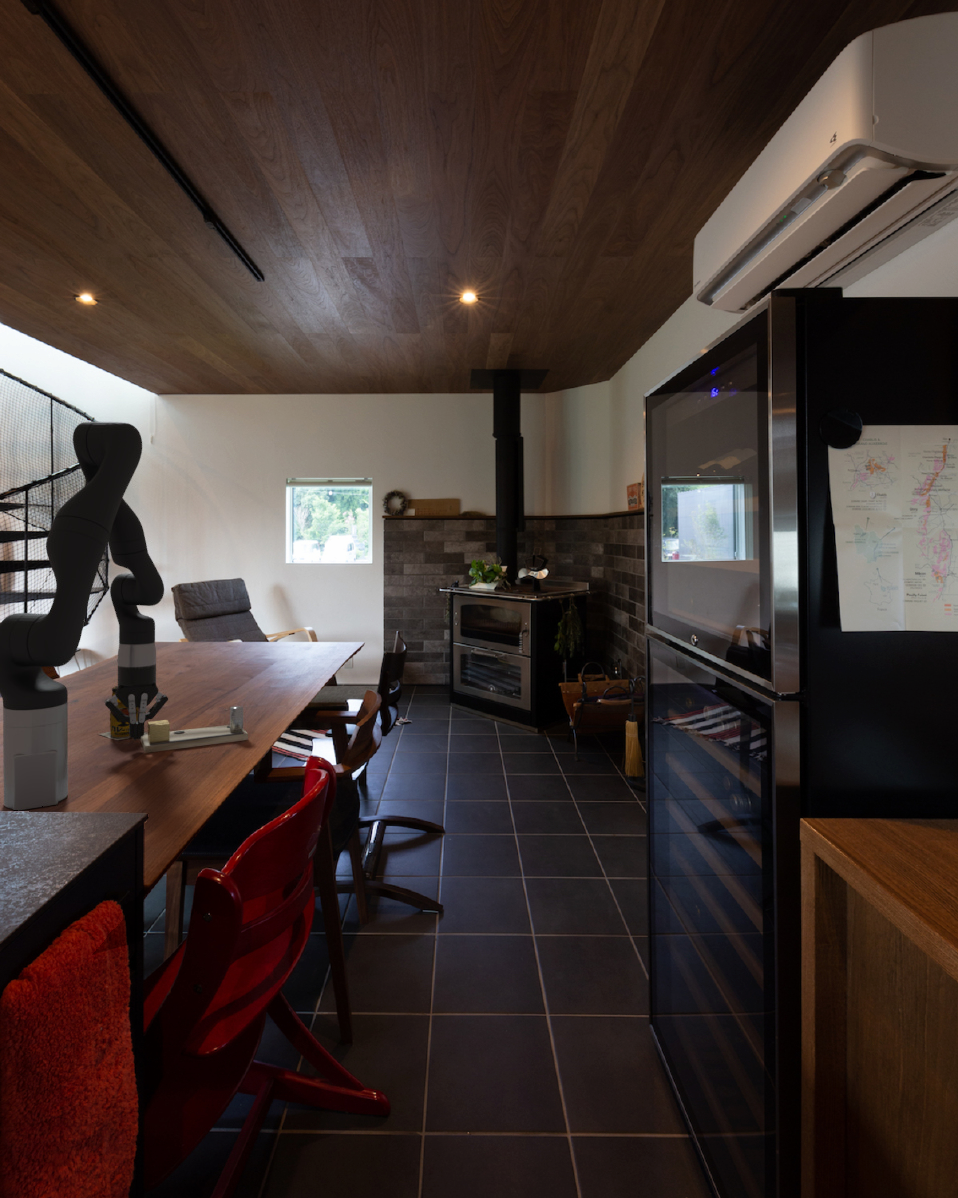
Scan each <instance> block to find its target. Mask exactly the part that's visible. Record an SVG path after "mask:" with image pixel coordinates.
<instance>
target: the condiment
mask: <svg viewBox="0 0 958 1198" xmlns="http://www.w3.org/2000/svg"><path fill="white" fill-rule="evenodd" d="M117 687H118V685H116V686H114V687H112V688H111V697H113V696H114V695H115V691H116V689H117ZM117 702H118V705H117V707H118V708H119V709H120V710H121V711H122V712H123V713H124V714H125V715H128V716H129V713H128V708H127V707H125V706H124V705H123V704H122V703H121V701H120V700H119V699H117ZM135 709H136V721H137V719H138V707H137V708H135ZM109 716H110V717H109V730H110V731H107V732H103V733H98V735H100V736H103V737H106V738H108V739H111V740H115V741H120V740H126V739H130V738H131V737H130V735H129V723H128V722H122V721H121V720H120V719H119V718H118V717H117V716H116V715H115V714H114V713H113V712H112V711H111V710H110V709H109ZM144 734H148V732H145V731H144ZM131 739H132V738H131Z"/></svg>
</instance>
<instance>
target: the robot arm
mask: <svg viewBox="0 0 958 1198" xmlns="http://www.w3.org/2000/svg"><path fill="white" fill-rule="evenodd" d="M142 439H143V438H142V436H141V433H140V431H139V430H138V428H137V427H136V426H135V425H133V424H131V423H129V422H123V421H83V422H81V423H79V424H78V425H76V427H75V428H74V430H73V435H72V444H73V448H74V454H75V456H76V459H77V462H78V464H79V467H80V469H81V471H82V474H83V476H84V479H85V481H86V484H85V485H84V486H83V487H82V488H81V489H80V490H78V491H77V492H76V493H75V494H74V495H72V496H71V497H70V498H69V499H68V500H67V501H66V502H65V503H63V505H62V506H60V508H59V510H58V511H57V513H56V514H55V516H54V519H53V522H52V524H51V527H50V529H49V531H48V535H47V538H46V543H45V549H46V550H45V551H46V554H47V559H48V561H49V563H50V564H49V565H50V567H51V569H52V572H53V575H54V578H55V587H56V588H55V594H54V597H53V601H52V604H51V607H50V608H49V609H50V610H49V611H48V613H32V612H31V613H29V612H24V613H23V612H19V613H17V612H16V613H12V614H10V615H8V616H6V617H5V618H4V619H3V620H1V622H0V697H1V698H2V714H3V715H2V730H3V731H2V737H3V738H2V742H3V743H2V747H3V750H2V751H3V752H2V753H3V755H2V756H3V760H2V761H3V767H2V768H3V770H2V771H3V805H4V807H6V808H7V809H11V810H12V811H13V810H18V811H23V810H24V811H25V810H29V809H37V808H43V807H48V806H54V805H55V806H56V805H58V803H59V802H60V801H63V800H64V799H66V798H67V796H68V795H69V794H68V793H69V788H68V787H69V786H68V782H69V778H68V777H69V774H68V773H69V771H68V770H69V769H68V767H69V764H68V763H69V762H68V756H69V754H68V752H69V751H68V750H69V747H68V746H69V745H68V743H69V741H68V739H69V738H68V732H69V731H68V729H69V727H68V725H69V724H68V720H69V719H68V716H69V714H68V712H69V711H68V709H69V706H68V705H69V704H68V703H69V701H68V699H69V697H68V696H69V695H68V687H67V686H66V685H64V684H63V683H61V682H58V681H56V680H54V679H52V678H51V677H49V676H48V675H47V674H46V673H45V672H44V670H43V668H44V667H46V668H49V667H50V668H51V667H52V668H56V667H63V666H64V665H67V663H69V662H70V661H71V660H72V659H73V658H74V655H75V654H76V652H77V650H78V648H79V645H80V642H81V638H82V633H83V630H84V624H85V621H86V616H87V614H86V613H87V611H88V604H89V600H90V596H91V594H92V589H93V586H94V583H95V579H96V576H97V573H98V570H99V567H100V564H101V561H102V558H103V556H104V554H105V552H106V549H107V545H108V547H109V552H110V556H111V560H112V561H113V563H114V565H116V566H119V567H121V568H125V569H128V570H129V571H130V572H131V573H127V572H125V573H120V574H118V575H116V576H115V577H114V578H113V579H112V581H111V584H110V588H109V595H110V599H111V603H112V605H113V609H114V612H115V617H116V619H117V622H118V628H119V629H118V631H119V632H118V639H119V640H118V650H117V659H116V661H117V686H118V687H117V689H116V691H115V695H114V696H113V697H112V696H111V697H110V698H107V699H105V700H104V705H105V706H106V707H107V709H109V711H110V710H111V711H112V712H113V713H114V714H115V715H116V716H117V717H118V718H119V719H120V720H121V721H122V722H128V723H129V735H130V737H131V739H132V740H133V741H134V740H135V741H136V740H141V736H143V735H144V732H145V723H146V721H149V720H152V719H154V718H155V717H156V715H157V714H158V713H159V712H160V710H161V709H162V708H163V707H164V706H165V704H166V703H167V702H168V700H169V697H168V695H166V694H164V693H162V692H160V691H159V688H158V686H157V649H156V622H155V619H154V618H153V617H151V616H148V615H145V614H142V613H141V612H140V610H139V608H138V606H141V607H143V606H145V607H150V606H151V607H153V606H155V605H158V604H159V603H160V602H161V601H162V599H163V598H164V595H165V585H164V580H163V579H162V576H161V574H160V572H159V571H158V569H157V567H156V565H155V563H154V561H153V559H152V557H151V556H150V555H149V552H148V551H149V550H148V545H147V541H146V536H145V532H144V528H143V525H142V523H141V521H140V518H139V517H138V515H137V514H136V513H135V511H134V510H133V509H132V508H131V506H130V505H129V504H128V503H127V502H126V500H125V499H124V498H123V497H124V495H125V494H126V491H127V489H128V487H129V484H130V482H131V481H132V479H133V477H134V474H135V472H136V470H137V468H138V467H139V466H138V465H139V464H140V460H141V459H142V458H141V457H142V453H143V440H142ZM117 699H119V700H120V701H121V703H122V704H123V705H124V706H125V707H127V708H128V713H129V716H128V715H125V714H124V713H123V712H122V711H121V710H120V709H119V708H118V707H117V705H118V702H117ZM154 699H155V703H154V704H153V706H151V708H150V709H149V710H148V711H147V707H148V706H149V705H150V704H151V703H152V701H153V700H154ZM137 707H138V719H137V721H136V709H135V708H137ZM42 806H43V807H42Z"/></svg>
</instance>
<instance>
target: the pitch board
mask: <svg viewBox="0 0 958 1198" xmlns="http://www.w3.org/2000/svg"><path fill="white" fill-rule="evenodd" d="M248 739H249V734H248V732H247V731H246V729H244V728H243V732H241V733H230V724H225V725H218V726H217V725H215V726H207V727H197V728H190V729H181V730H173V731H171V730H170V741H167V742H158V743H149V741H148V733H147V734H144V735H143V736H141V739H140V744H141V745H142V749H143V751H144V754H146V753H147V754H148V753H155V752H162V751H163V752H164V751H170V750H178V749H185V748H186V749H187V748H195V747H200V746H208V745H217V744H225V743H226V744H227V743H233V742H240V741H248Z"/></svg>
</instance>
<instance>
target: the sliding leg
mask: <svg viewBox="0 0 958 1198" xmlns="http://www.w3.org/2000/svg"><path fill="white" fill-rule="evenodd" d="M170 725H171V724H170V722H169V720H168V719H164V720H163V719H162V720H153V721H152V720H151V721H147V734H148V741H149V743H158V742H167V741H170V731H171V730H170V729H171V727H170Z"/></svg>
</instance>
